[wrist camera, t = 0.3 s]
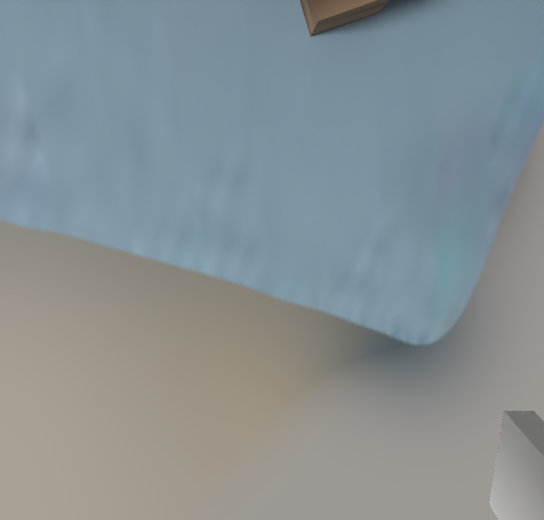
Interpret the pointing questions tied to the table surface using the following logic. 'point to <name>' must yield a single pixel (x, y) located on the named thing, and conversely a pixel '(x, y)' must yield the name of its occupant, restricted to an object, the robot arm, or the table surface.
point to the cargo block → (337, 12)
